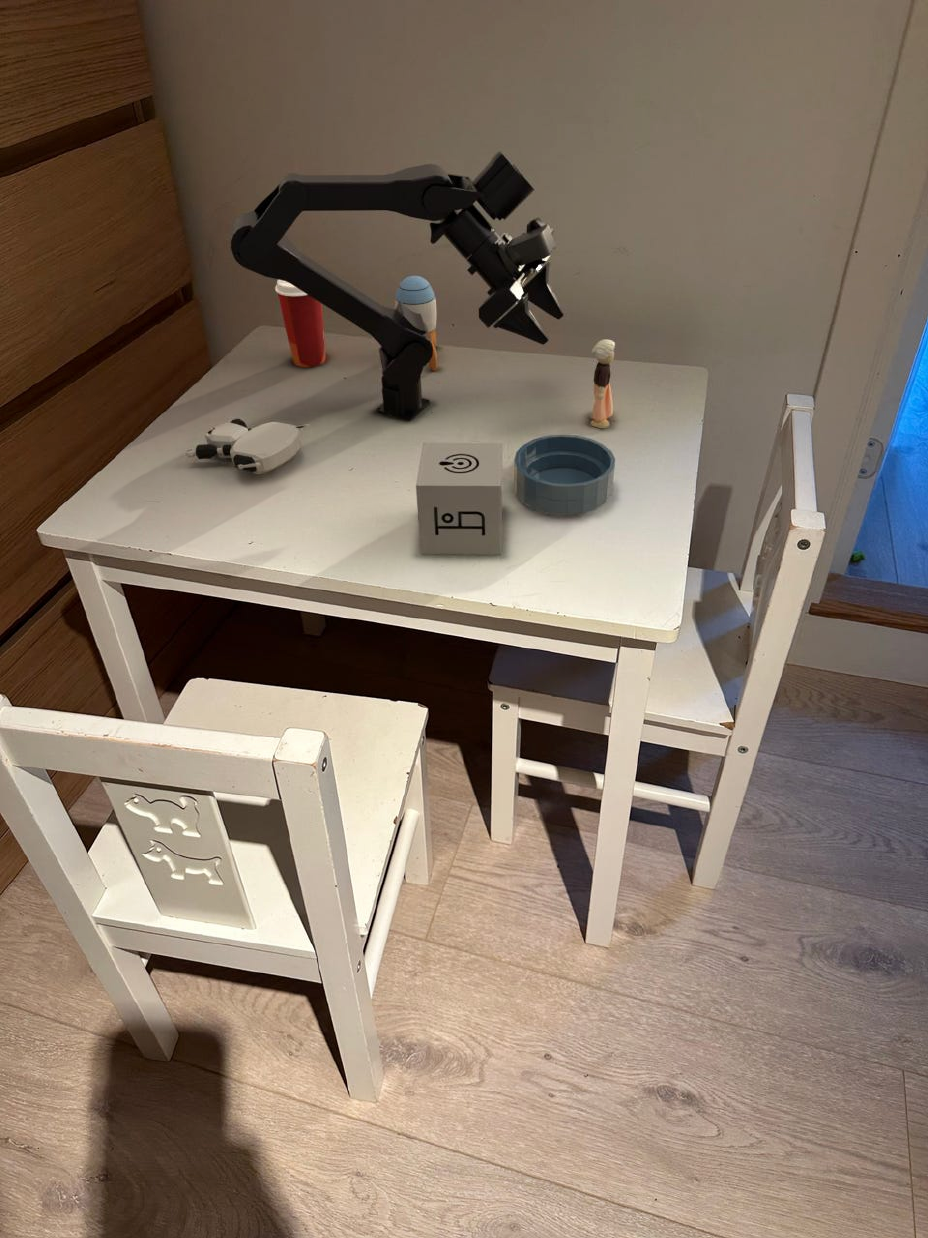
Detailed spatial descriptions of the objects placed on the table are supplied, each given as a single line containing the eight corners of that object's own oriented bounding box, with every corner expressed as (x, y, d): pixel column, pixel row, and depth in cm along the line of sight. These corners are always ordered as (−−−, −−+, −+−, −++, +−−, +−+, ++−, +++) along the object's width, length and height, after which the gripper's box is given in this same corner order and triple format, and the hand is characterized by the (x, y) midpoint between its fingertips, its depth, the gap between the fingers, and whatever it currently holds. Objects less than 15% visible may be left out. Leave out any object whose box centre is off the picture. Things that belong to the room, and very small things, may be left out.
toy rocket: (449, 375, 151) (429, 295, 139) (388, 386, 152) (363, 308, 141) (448, 342, 157) (429, 262, 146) (390, 353, 159) (367, 275, 148)
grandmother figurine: (617, 430, 133) (625, 349, 125) (592, 432, 133) (598, 351, 125) (606, 406, 139) (613, 327, 131) (582, 408, 139) (587, 329, 131)
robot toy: (185, 473, 128) (268, 489, 122) (176, 444, 126) (261, 460, 120) (238, 434, 137) (318, 448, 131) (230, 407, 134) (312, 420, 128)
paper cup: (339, 354, 156) (330, 274, 146) (316, 373, 150) (304, 290, 141) (302, 347, 158) (290, 268, 149) (277, 365, 153) (263, 283, 144)
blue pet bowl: (538, 457, 128) (539, 426, 125) (625, 479, 123) (629, 447, 120) (497, 503, 119) (497, 471, 116) (589, 528, 114) (592, 495, 111)
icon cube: (420, 553, 111) (415, 485, 104) (426, 509, 119) (422, 442, 112) (500, 554, 110) (501, 485, 104) (502, 509, 118) (502, 442, 111)
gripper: (501, 226, 113) (581, 320, 117) (538, 185, 126) (608, 271, 131) (445, 283, 120) (522, 369, 125) (485, 238, 133) (554, 317, 138)
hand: (554, 329), depth 129 cm, fingers open, 9 cm apart
